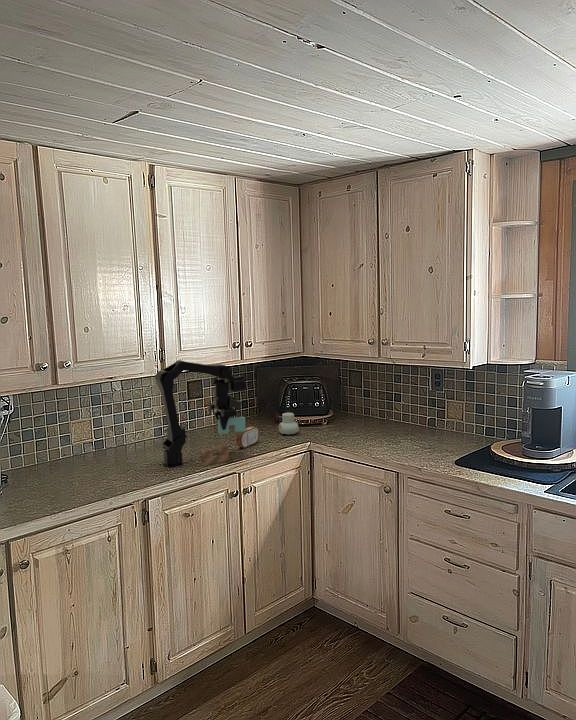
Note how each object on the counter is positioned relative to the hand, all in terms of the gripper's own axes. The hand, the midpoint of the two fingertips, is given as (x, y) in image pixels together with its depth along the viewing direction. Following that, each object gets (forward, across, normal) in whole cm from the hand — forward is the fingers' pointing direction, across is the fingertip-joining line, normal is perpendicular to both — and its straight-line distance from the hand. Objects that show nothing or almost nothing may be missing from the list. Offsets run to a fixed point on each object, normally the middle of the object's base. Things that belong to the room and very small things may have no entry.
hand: (223, 429), depth 260 cm
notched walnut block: (+12, -8, +7) cm, 16 cm away
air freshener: (+12, +19, -42) cm, 48 cm away
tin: (+12, +9, -16) cm, 22 cm away
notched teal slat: (+2, 0, -4) cm, 4 cm away
